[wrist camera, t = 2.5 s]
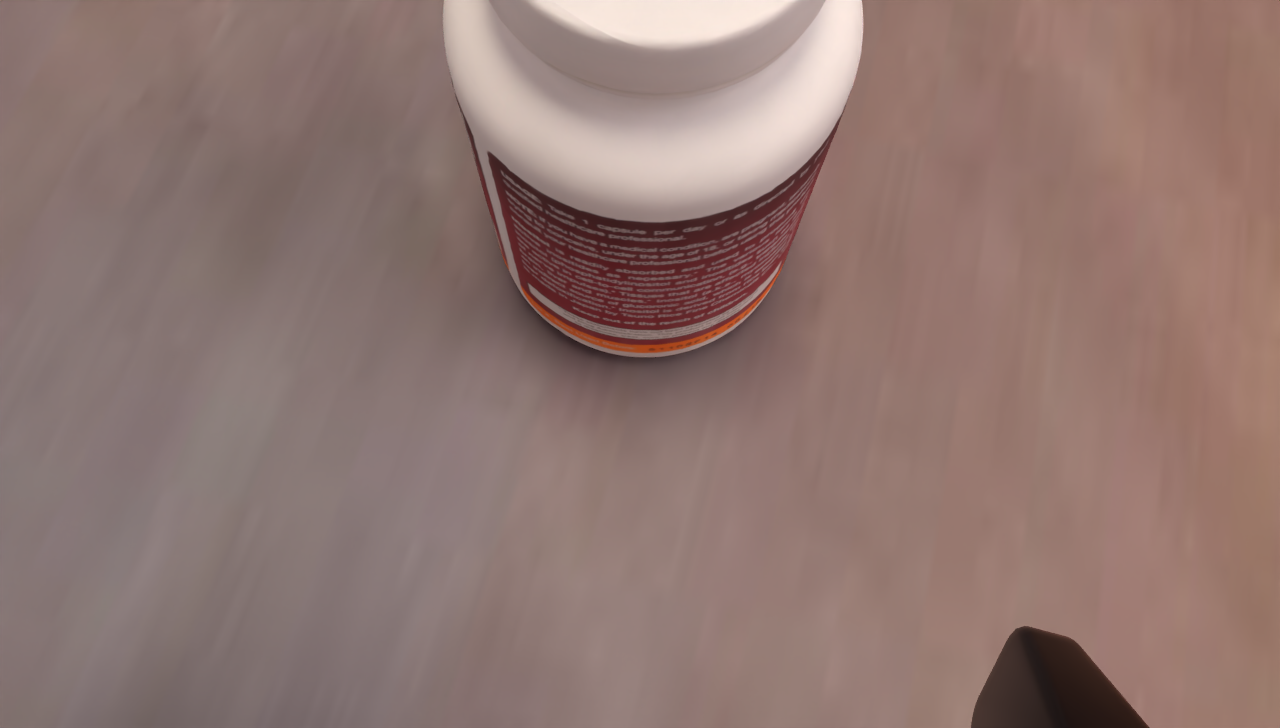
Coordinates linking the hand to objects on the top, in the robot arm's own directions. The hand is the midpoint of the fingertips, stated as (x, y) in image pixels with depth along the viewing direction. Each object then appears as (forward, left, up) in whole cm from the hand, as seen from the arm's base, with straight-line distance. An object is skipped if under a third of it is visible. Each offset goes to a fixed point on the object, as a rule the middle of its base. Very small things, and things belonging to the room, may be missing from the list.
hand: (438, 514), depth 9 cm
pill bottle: (+6, +5, -14) cm, 16 cm away
